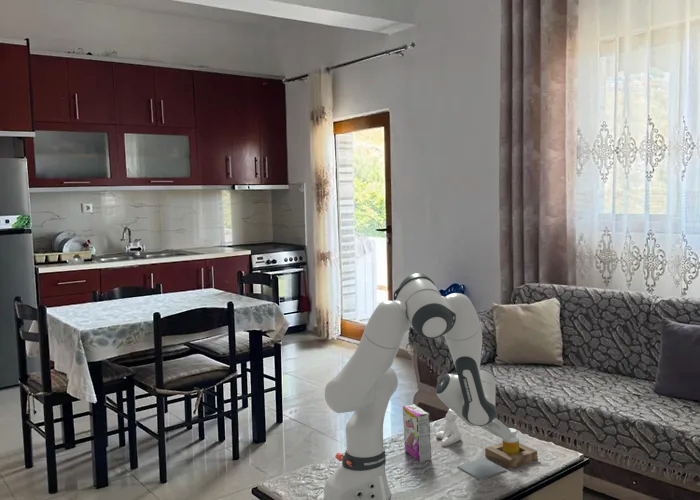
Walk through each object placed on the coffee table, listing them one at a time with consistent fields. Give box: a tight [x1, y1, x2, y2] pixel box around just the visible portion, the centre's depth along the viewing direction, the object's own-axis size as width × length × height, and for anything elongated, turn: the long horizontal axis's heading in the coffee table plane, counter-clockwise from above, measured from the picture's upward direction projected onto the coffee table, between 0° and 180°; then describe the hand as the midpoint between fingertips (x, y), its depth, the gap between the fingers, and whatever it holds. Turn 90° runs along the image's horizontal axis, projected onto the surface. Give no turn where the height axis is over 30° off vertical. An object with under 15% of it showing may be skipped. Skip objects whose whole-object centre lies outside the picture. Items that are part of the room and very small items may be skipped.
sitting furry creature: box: [435, 408, 463, 447], centre depth 239 cm, size 10×9×12 cm
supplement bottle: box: [501, 427, 520, 455], centre depth 222 cm, size 5×5×10 cm
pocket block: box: [484, 442, 539, 470], centre depth 222 cm, size 12×12×3 cm
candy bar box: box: [402, 403, 432, 463], centre depth 227 cm, size 11×5×16 cm, turn 22°
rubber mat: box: [457, 457, 508, 481], centre depth 215 cm, size 11×11×1 cm
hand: (500, 434), depth 219 cm, fingers open, 8 cm apart
